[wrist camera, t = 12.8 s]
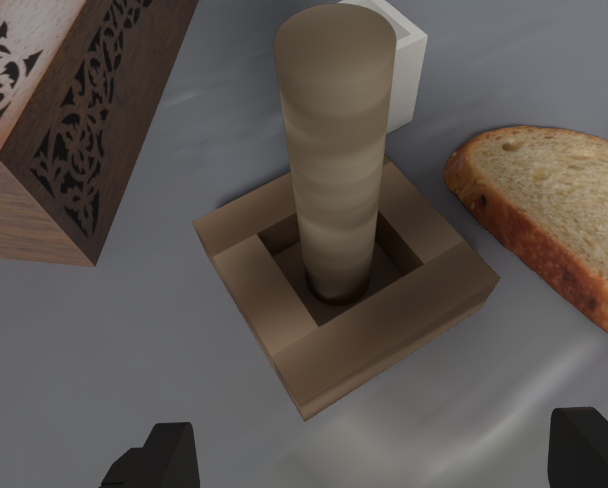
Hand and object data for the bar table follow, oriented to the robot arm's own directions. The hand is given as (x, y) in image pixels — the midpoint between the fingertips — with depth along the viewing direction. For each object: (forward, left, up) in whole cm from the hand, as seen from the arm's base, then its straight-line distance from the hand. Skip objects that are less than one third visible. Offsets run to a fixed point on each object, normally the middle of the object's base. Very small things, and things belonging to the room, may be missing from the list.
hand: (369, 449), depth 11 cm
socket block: (-9, +5, -13) cm, 17 cm away
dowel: (-9, +5, -12) cm, 16 cm away
